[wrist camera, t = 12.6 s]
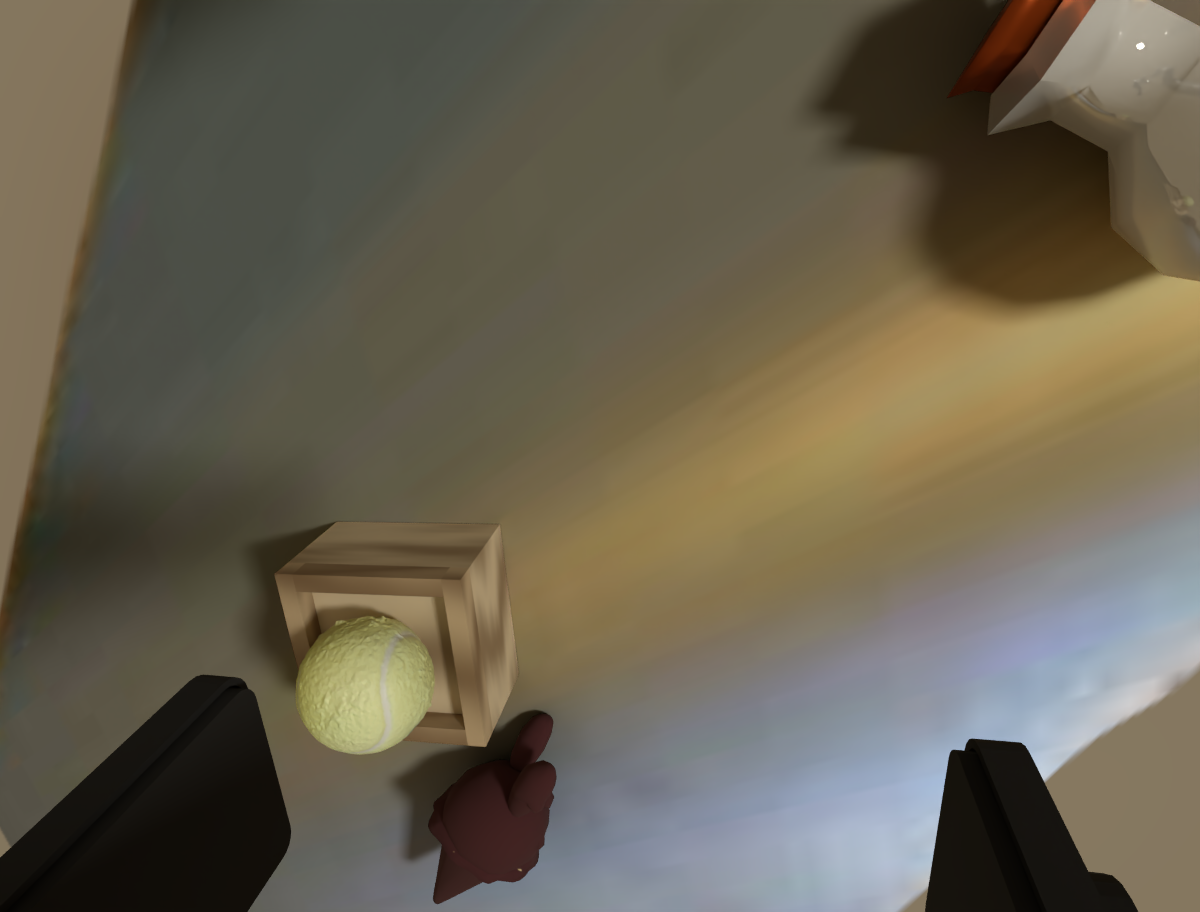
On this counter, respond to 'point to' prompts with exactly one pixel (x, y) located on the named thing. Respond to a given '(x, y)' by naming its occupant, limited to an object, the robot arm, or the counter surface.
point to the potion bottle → (1109, 106)
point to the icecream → (495, 816)
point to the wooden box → (417, 610)
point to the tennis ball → (365, 685)
